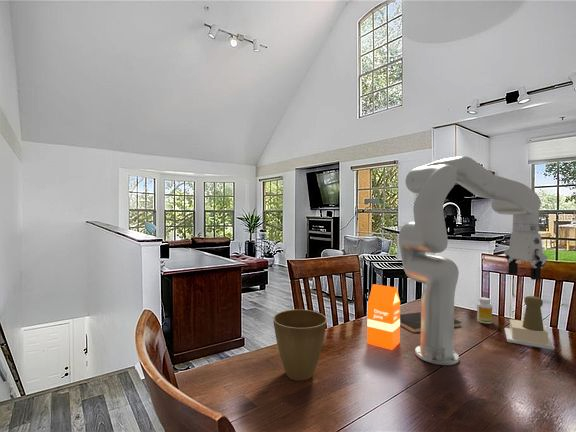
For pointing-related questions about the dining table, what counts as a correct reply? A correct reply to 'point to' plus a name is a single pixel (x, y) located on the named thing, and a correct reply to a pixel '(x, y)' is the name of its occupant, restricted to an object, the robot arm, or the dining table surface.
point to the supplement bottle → (484, 311)
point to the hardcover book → (416, 321)
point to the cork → (533, 314)
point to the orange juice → (383, 317)
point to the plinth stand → (527, 335)
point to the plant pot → (299, 341)
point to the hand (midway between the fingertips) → (523, 276)
